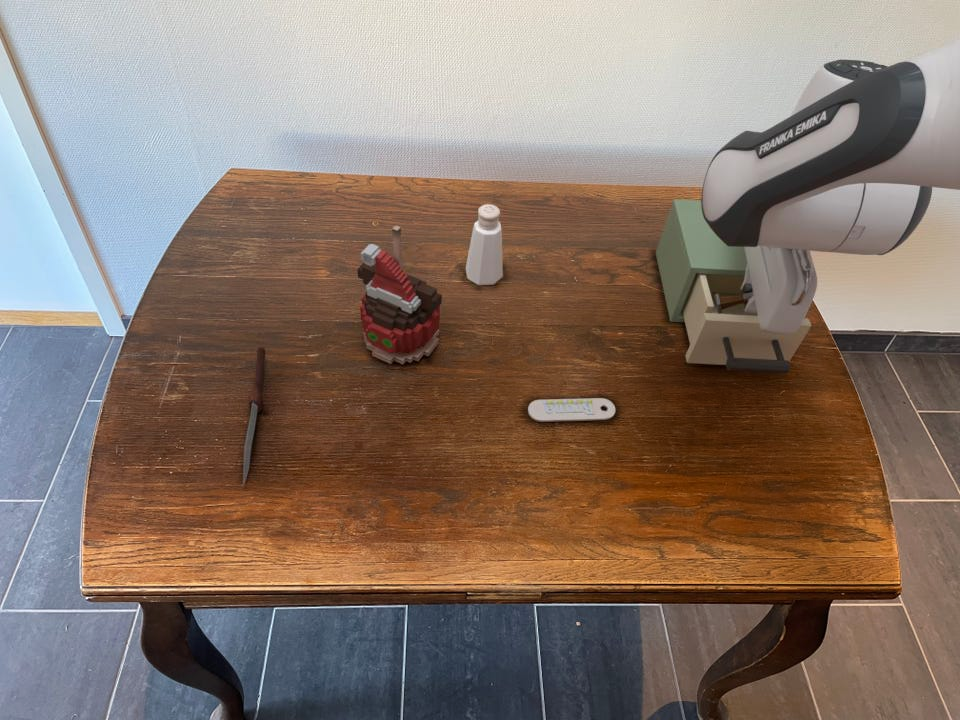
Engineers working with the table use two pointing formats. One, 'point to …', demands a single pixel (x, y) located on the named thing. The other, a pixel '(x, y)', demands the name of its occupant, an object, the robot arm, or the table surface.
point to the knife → (254, 408)
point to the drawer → (733, 330)
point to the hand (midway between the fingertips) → (748, 303)
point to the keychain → (571, 409)
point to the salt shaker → (486, 248)
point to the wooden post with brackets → (730, 301)
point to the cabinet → (692, 254)
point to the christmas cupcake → (397, 307)
